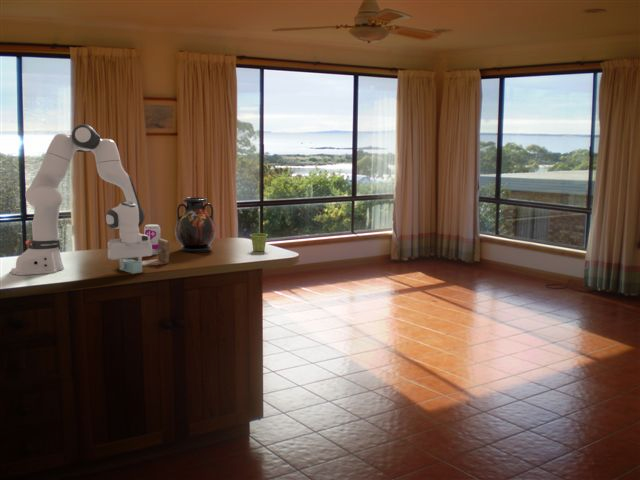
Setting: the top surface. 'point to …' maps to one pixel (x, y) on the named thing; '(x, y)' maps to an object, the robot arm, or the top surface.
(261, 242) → the plant pot
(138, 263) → the light blue block
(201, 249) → the amphora vase
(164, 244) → the peg frame
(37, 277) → the top surface
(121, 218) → the robot arm
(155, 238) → the supplement can
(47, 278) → the top surface
